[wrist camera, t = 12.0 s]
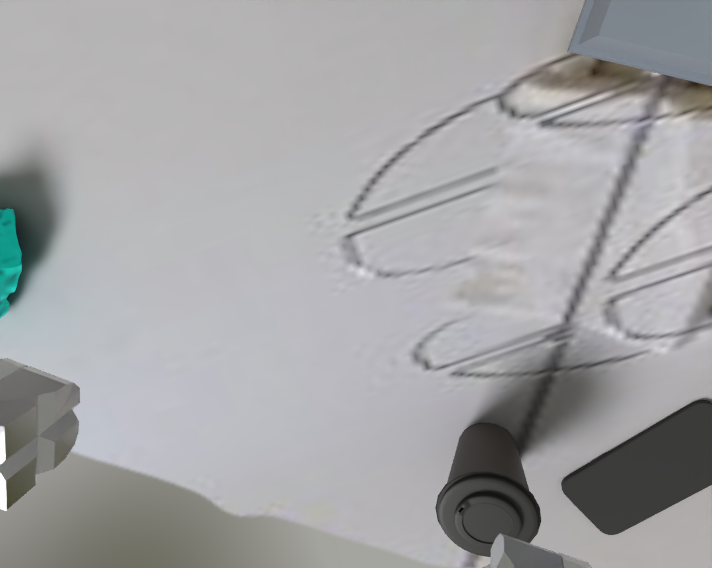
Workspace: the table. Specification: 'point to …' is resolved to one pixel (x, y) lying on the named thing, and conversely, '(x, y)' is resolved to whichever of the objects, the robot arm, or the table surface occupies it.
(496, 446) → the coffee cup
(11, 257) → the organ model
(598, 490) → the phone
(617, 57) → the stand
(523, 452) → the table surface
